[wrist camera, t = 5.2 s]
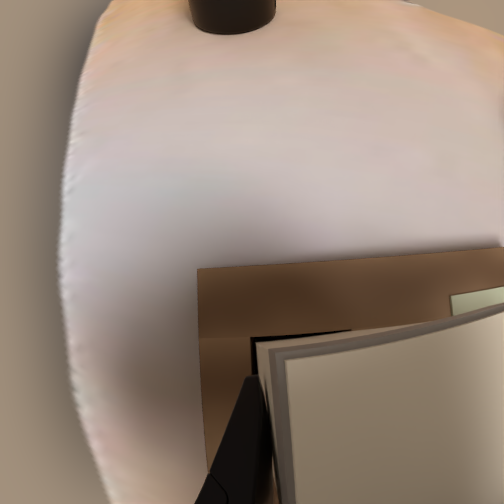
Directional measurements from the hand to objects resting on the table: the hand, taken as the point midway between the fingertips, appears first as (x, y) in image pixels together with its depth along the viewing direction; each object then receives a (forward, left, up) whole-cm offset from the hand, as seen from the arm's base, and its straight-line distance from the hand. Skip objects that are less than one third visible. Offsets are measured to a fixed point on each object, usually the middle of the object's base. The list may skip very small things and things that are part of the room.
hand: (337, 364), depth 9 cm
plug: (-1, +1, -8) cm, 8 cm away
